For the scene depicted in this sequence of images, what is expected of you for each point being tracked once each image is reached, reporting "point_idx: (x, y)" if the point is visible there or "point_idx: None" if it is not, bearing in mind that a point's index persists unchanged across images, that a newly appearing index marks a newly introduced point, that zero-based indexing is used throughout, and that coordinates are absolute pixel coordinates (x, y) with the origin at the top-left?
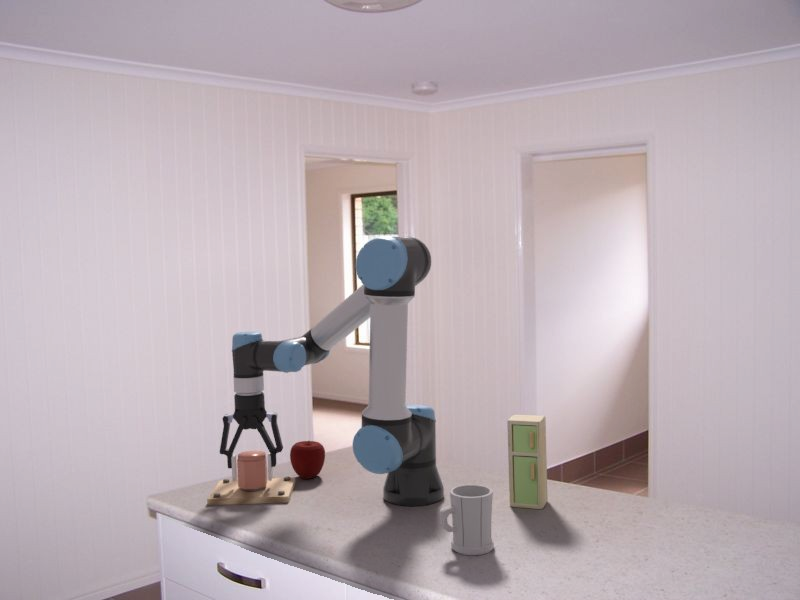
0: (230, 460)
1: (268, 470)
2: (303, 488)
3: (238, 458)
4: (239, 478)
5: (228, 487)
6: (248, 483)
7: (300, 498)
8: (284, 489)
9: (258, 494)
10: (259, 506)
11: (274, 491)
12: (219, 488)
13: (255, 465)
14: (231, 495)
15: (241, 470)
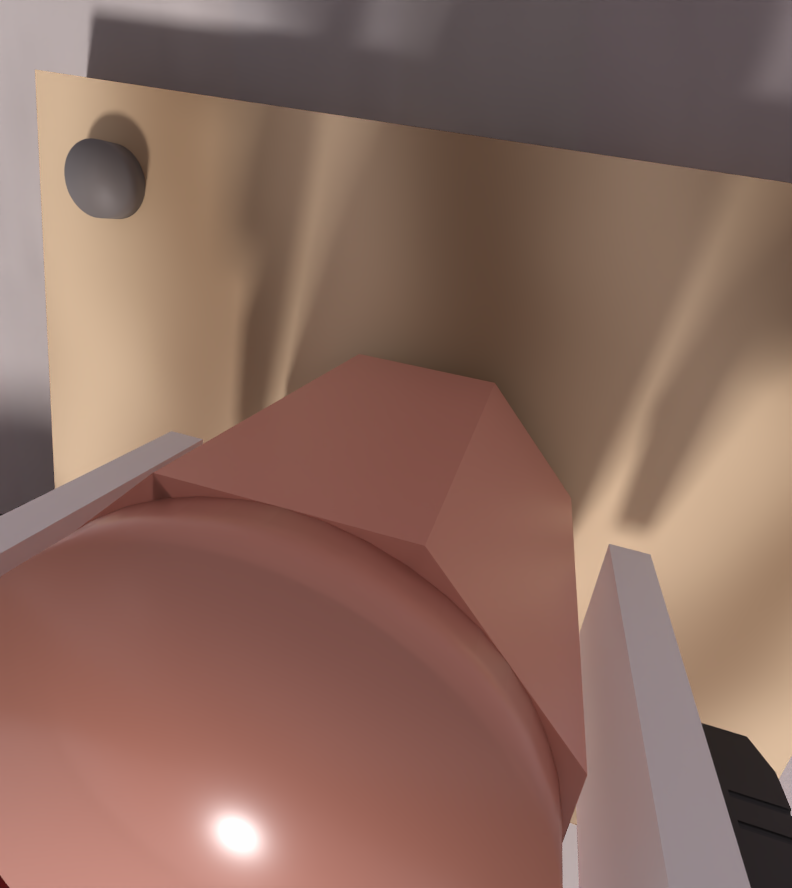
0: (746, 869)
1: (114, 485)
2: (23, 465)
3: (552, 789)
4: (553, 520)
5: (673, 619)
6: (437, 389)
7: (4, 191)
8: (103, 336)
9: (350, 240)
10: (364, 10)
11: (190, 301)
12: (786, 627)
13: (209, 445)
14: (680, 301)
15: (511, 534)
